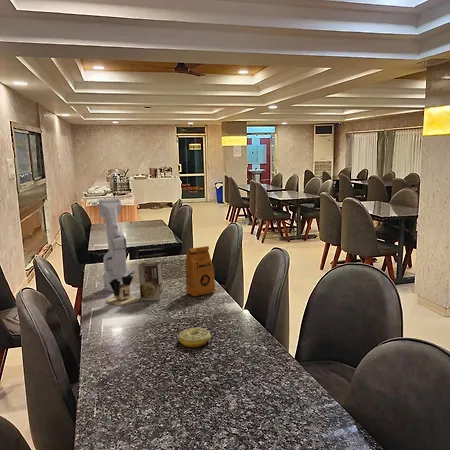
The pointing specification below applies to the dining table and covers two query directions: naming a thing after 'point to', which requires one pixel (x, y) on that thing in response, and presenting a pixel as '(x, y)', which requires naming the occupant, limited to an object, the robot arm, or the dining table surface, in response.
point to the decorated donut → (194, 337)
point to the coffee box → (150, 281)
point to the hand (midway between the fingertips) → (121, 293)
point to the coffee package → (199, 272)
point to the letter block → (123, 292)
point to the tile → (122, 301)
